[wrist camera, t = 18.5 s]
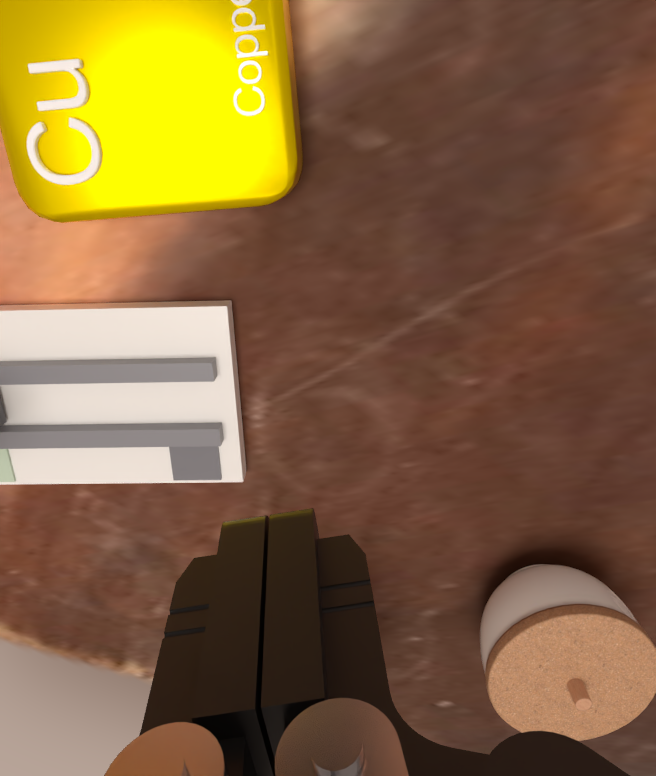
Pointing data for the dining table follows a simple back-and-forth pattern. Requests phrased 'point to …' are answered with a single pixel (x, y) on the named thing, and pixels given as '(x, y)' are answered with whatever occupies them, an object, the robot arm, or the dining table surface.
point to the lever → (2, 414)
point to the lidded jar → (564, 654)
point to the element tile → (148, 105)
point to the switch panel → (120, 393)
